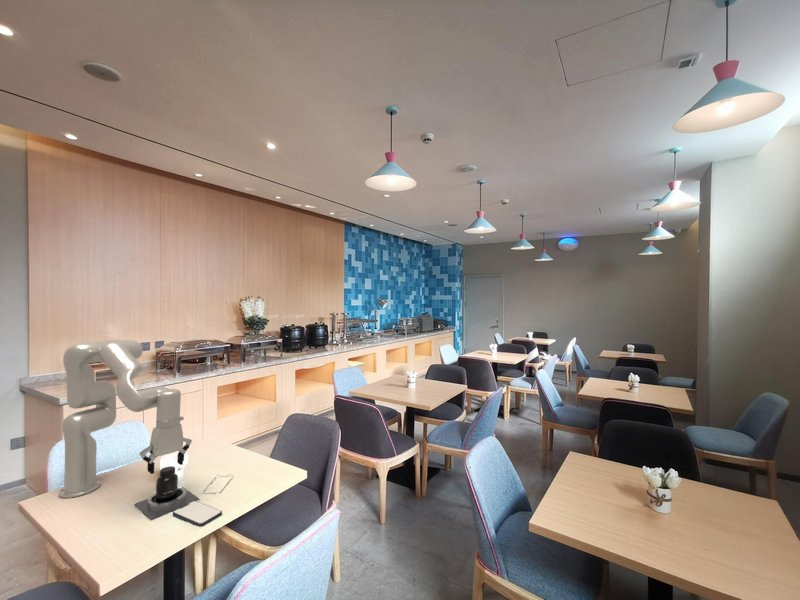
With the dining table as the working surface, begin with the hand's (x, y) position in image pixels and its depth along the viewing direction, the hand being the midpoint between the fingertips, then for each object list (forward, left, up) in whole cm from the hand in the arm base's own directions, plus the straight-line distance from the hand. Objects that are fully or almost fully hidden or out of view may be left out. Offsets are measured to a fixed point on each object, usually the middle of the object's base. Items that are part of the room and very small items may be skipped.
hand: (166, 468), depth 133 cm
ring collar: (+1, 0, -13) cm, 13 cm away
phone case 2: (+3, +18, -14) cm, 23 cm away
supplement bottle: (+1, 0, -12) cm, 12 cm away
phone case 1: (+18, +3, -13) cm, 23 cm away
